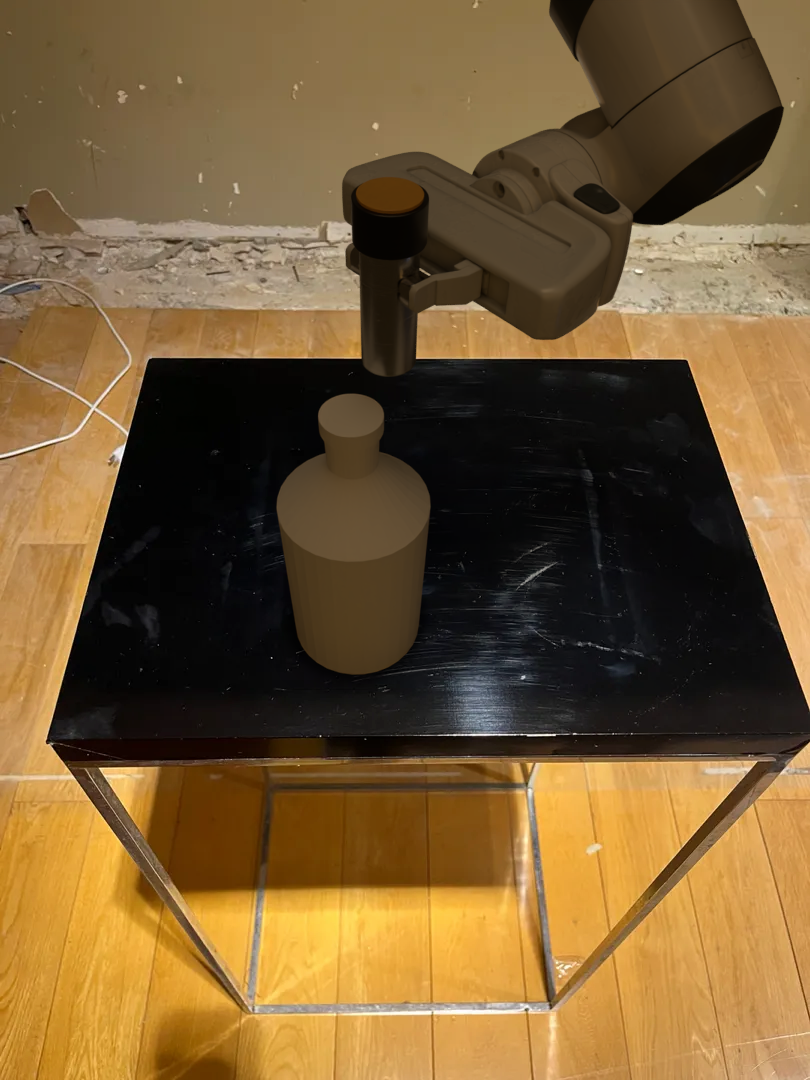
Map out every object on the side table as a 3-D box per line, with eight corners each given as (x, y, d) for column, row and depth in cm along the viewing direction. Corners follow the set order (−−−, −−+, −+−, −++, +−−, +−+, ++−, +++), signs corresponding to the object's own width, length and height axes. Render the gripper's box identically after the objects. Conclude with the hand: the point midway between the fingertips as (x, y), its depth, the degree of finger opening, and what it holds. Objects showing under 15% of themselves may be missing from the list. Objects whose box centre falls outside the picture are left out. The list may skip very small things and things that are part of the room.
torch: (428, 345, 58) (437, 180, 49) (412, 386, 56) (419, 218, 46) (366, 335, 59) (363, 169, 50) (347, 374, 56) (340, 206, 47)
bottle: (440, 656, 74) (462, 453, 55) (311, 693, 71) (288, 493, 52) (397, 558, 81) (403, 348, 62) (279, 588, 78) (247, 379, 59)
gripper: (428, 113, 60) (275, 170, 54) (654, 224, 51) (500, 308, 45) (425, 196, 65) (284, 257, 59) (631, 311, 56) (488, 398, 50)
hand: (379, 280), depth 52 cm, fingers closed on torch, 4 cm apart
